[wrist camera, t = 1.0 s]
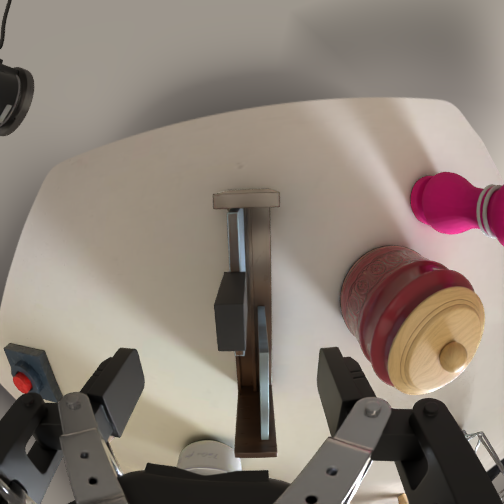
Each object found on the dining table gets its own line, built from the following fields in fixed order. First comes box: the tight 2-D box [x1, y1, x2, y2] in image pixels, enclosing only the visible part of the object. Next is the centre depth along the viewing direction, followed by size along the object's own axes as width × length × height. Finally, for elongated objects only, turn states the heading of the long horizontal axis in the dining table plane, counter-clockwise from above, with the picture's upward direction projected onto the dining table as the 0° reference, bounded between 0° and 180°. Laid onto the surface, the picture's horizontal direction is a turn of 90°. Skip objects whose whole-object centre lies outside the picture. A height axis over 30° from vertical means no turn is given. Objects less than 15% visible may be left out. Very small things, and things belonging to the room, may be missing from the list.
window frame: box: [213, 189, 280, 458], centre depth 29 cm, size 26×4×14 cm, turn 2°
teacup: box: [177, 440, 242, 475], centre depth 38 cm, size 14×11×8 cm
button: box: [13, 372, 32, 394], centre depth 35 cm, size 4×4×2 cm
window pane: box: [214, 208, 248, 356], centre depth 24 cm, size 12×2×17 cm, turn 2°
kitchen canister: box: [340, 246, 485, 395], centre depth 27 cm, size 13×13×18 cm
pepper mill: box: [411, 172, 504, 246], centre depth 23 cm, size 7×7×20 cm
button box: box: [4, 343, 63, 403], centre depth 37 cm, size 10×10×4 cm
